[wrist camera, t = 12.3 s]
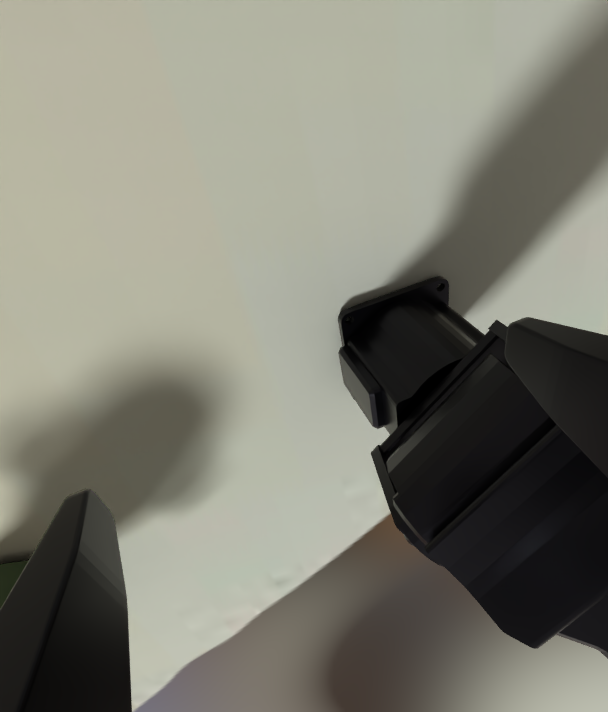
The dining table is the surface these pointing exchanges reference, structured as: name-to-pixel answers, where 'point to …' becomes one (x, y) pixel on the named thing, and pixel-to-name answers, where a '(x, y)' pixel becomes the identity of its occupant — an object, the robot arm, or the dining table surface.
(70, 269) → the dining table surface
